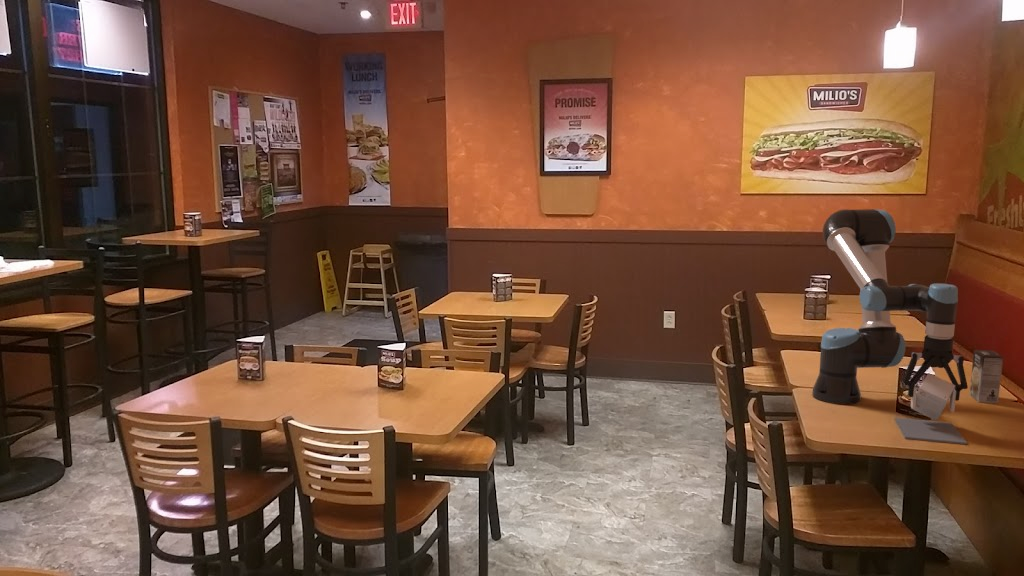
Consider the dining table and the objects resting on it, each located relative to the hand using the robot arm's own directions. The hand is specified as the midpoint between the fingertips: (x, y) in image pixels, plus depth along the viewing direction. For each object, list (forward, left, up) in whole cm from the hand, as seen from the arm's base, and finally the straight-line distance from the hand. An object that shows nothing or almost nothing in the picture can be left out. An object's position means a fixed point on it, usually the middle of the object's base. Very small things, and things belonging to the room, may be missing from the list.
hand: (932, 409), depth 237 cm
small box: (0, +5, -1) cm, 6 cm away
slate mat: (-1, -3, -6) cm, 7 cm away
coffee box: (+24, +38, -6) cm, 46 cm away
